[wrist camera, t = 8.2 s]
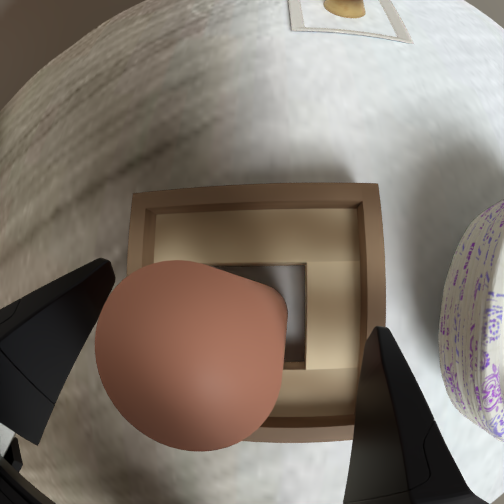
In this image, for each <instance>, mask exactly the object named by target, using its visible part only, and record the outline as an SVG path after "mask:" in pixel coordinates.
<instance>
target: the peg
mask: <svg viewBox="0 0 504 504" xmlns="http://www.w3.org/2000/svg"><path fill="white" fill-rule="evenodd" d="M287 318H288V310H287V306H286V303H285V301H284V299H283V297H282V296H281V294H280V293H279V292H278V291H276V290H275V289H274V288H272V287H270V286H268V285H265V284H262V283H259V282H256V281H253V280H250V279H247V278H244V277H241V276H238V275H235V274H232V273H229V272H226V271H223V270H220V269H217V268H214V267H211V266H208V265H205V264H202V263H197V262H192V261H184V260H170V261H162V262H157V263H153V264H150V265H147V266H145V267H142V268H140V269H138V270H137V271H135V272H133V273H131V274H130V275H129V276H127V277H126V278H125V279H123V280H122V281H121V282H120V283H119V284H118V285H117V286H116V287H115V289H114V290H113V291H112V293H111V294H110V295H109V297H108V299H107V300H106V302H105V304H104V306H103V308H102V311H101V313H100V316H99V319H98V323H97V327H96V335H95V355H96V363H97V367H98V371H99V375H100V378H101V381H102V383H103V386H104V388H105V390H106V392H107V394H108V396H109V398H110V399H111V401H112V402H113V404H114V405H115V407H116V408H117V409H118V411H119V412H120V413H121V414H122V416H123V417H124V418H125V419H126V420H127V421H128V422H129V423H130V424H132V425H133V426H134V427H135V428H136V429H137V430H139V431H140V432H142V433H143V434H145V435H146V436H148V437H149V438H151V439H153V440H155V441H157V442H159V443H161V444H164V445H167V446H169V447H173V448H177V449H181V450H187V451H212V450H218V449H222V448H226V447H229V446H231V445H234V444H236V443H238V442H240V441H242V440H244V439H245V438H247V437H248V436H250V435H251V434H252V433H253V432H255V431H256V430H257V429H258V428H259V427H260V426H261V425H262V424H263V423H264V421H265V420H266V419H267V417H268V416H269V414H270V413H271V411H272V410H273V408H274V405H275V403H276V401H277V398H278V395H279V391H280V388H281V383H282V373H283V363H284V353H285V341H286V330H287Z"/></svg>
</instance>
